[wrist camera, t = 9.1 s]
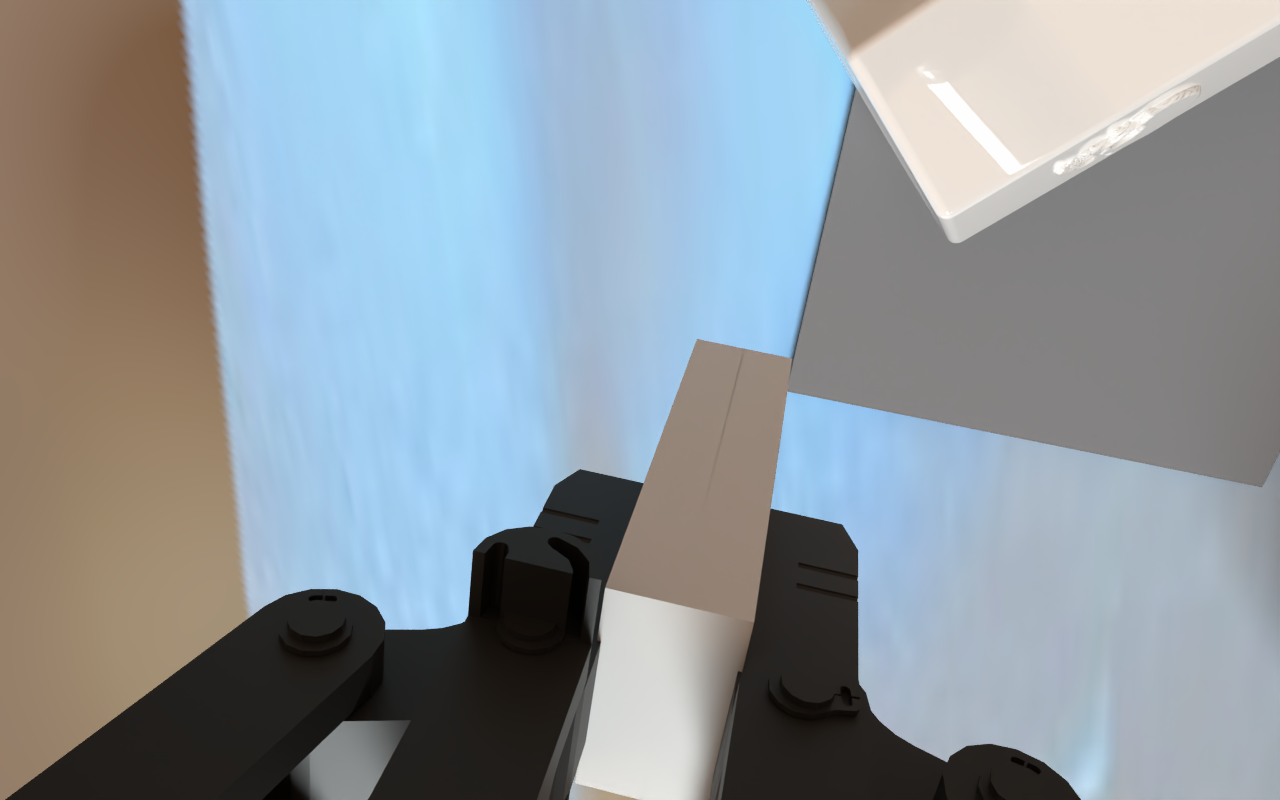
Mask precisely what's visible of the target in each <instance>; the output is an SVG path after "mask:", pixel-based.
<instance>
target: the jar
mask: <svg viewBox="0 0 1280 800" xmlns="http://www.w3.org/2000/svg"><path fill="white" fill-rule="evenodd" d="M806 1H807V3H808V5H809V7H810V8H811V10H812V12H813V14H814V16H815V18H816V20H817V21H818V23H819V25H820V27H821V29H822V30H823V32H824V34H825V35H826V37H827V39H828V41H829V42H830V44H831V46H832V47H833V49H834V51H835V53H836V54H837V56H838V58H839V59H840V61H841V63H842V65H843V66H844V68H845V70H846V71H847V73H848V75H849V76H850V78H851V80H852V82H853V83H854V85H855V87H856V88H857V90H858V92H859V94H860V95H861V97H862V99H863V100H864V102H865V104H866V105H867V107H868V109H869V111H870V112H871V114H872V116H873V117H874V119H875V121H876V123H877V124H878V126H879V128H880V129H881V131H882V133H883V135H884V136H885V138H886V140H887V141H888V143H889V145H890V146H891V148H892V150H893V151H894V153H895V155H896V156H897V158H898V160H899V161H900V163H901V164H902V166H903V168H904V169H905V171H906V173H907V174H908V176H909V177H910V179H911V181H912V182H913V184H914V186H915V187H916V189H917V191H918V192H919V194H920V195H921V197H922V199H923V200H924V202H925V204H926V205H927V207H928V208H929V210H930V212H931V213H932V215H933V217H934V218H935V220H936V222H937V223H938V225H939V226H940V228H941V230H942V231H943V233H944V235H945V236H946V238H947V239H948V240H949V241H950V242H952V243H960V242H963V241H964V240H966V239H968V238H969V237H971V236H973V235H975V234H976V233H978V232H980V231H981V230H983V229H985V228H987V227H988V226H990V225H992V224H993V223H995V222H997V221H999V220H1000V219H1002V218H1004V217H1006V216H1007V215H1009V214H1011V213H1012V212H1014V211H1016V210H1018V209H1019V208H1021V207H1023V206H1024V205H1026V204H1028V203H1030V202H1031V201H1033V200H1035V199H1036V198H1038V197H1040V196H1042V195H1043V194H1045V193H1047V192H1048V191H1050V190H1052V189H1054V188H1055V187H1057V186H1059V185H1060V184H1062V183H1064V182H1066V181H1067V180H1069V179H1071V178H1072V177H1074V176H1076V175H1078V174H1079V173H1081V172H1083V171H1084V170H1086V169H1088V168H1090V167H1091V166H1093V165H1095V164H1097V163H1098V162H1100V161H1102V160H1103V159H1105V158H1107V157H1109V156H1110V155H1112V154H1114V153H1115V152H1117V151H1119V150H1121V149H1122V148H1124V147H1126V146H1127V145H1129V144H1131V143H1133V142H1135V141H1137V140H1139V139H1140V138H1142V137H1144V136H1146V135H1148V134H1149V133H1151V132H1153V131H1155V130H1156V129H1158V128H1160V127H1161V126H1163V125H1164V124H1166V123H1168V122H1169V121H1171V120H1172V119H1174V118H1175V117H1177V116H1179V115H1181V114H1182V113H1184V112H1186V111H1187V110H1189V109H1191V108H1193V107H1194V106H1196V105H1198V104H1200V103H1201V102H1203V101H1205V100H1206V99H1208V98H1210V97H1212V96H1213V95H1215V94H1217V93H1218V92H1220V91H1222V90H1224V89H1225V88H1227V87H1229V86H1230V85H1232V84H1234V83H1236V82H1237V81H1239V80H1241V79H1243V78H1244V77H1246V76H1248V75H1249V74H1251V73H1253V72H1255V71H1256V70H1258V69H1260V68H1261V67H1263V66H1265V65H1267V64H1268V63H1270V62H1272V61H1273V60H1275V59H1277V58H1279V57H1280V0H806Z"/></svg>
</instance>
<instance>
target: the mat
mask: <svg viewBox="0 0 1280 800" xmlns="http://www.w3.org/2000/svg"><path fill="white" fill-rule="evenodd" d="M787 391H788V392H793V393H798V394H803V395H808V396H813V397H818V398H823V399H828V400H833V401H838V402H842V403H847V404H852V405H857V406H862V407H867V408H872V409H877V410H882V411H887V412H892V413H897V414H902V415H907V416H912V417H917V418H922V419H927V420H932V421H937V422H942V423H947V424H951V425H956V426H961V427H966V428H971V429H976V430H981V431H986V432H991V433H996V434H1001V435H1006V436H1011V437H1016V438H1021V439H1026V440H1031V441H1036V442H1041V443H1046V444H1051V445H1056V446H1060V447H1065V448H1070V449H1075V450H1080V451H1085V452H1090V453H1095V454H1100V455H1105V456H1110V457H1115V458H1120V459H1125V460H1130V461H1135V462H1140V463H1145V464H1150V465H1155V466H1160V467H1164V468H1169V469H1174V470H1179V471H1184V472H1189V473H1194V474H1199V475H1204V476H1209V477H1214V478H1219V479H1224V480H1229V481H1234V482H1239V483H1244V484H1249V485H1254V486H1259V487H1262V486H1263V484H1264V482H1265V480H1266V478H1267V476H1268V474H1269V472H1270V470H1271V468H1272V466H1273V465H1274V463H1275V461H1276V459H1277V457H1278V455H1279V453H1280V57H1279V58H1277V59H1275V60H1273V61H1272V62H1270V63H1268V64H1267V65H1265V66H1263V67H1261V68H1260V69H1258V70H1256V71H1255V72H1253V73H1251V74H1249V75H1248V76H1246V77H1244V78H1243V79H1241V80H1239V81H1237V82H1236V83H1234V84H1232V85H1230V86H1229V87H1227V88H1225V89H1224V90H1222V91H1220V92H1218V93H1217V94H1215V95H1213V96H1212V97H1210V98H1208V99H1206V100H1205V101H1203V102H1201V103H1200V104H1198V105H1196V106H1194V107H1193V108H1191V109H1189V110H1187V111H1186V112H1184V113H1182V114H1181V115H1179V116H1177V117H1175V118H1174V119H1172V120H1171V121H1169V122H1168V123H1166V124H1164V125H1163V126H1161V127H1160V128H1158V129H1156V130H1155V131H1153V132H1151V133H1149V134H1148V135H1146V136H1144V137H1142V138H1140V139H1139V140H1137V141H1135V142H1133V143H1131V144H1129V145H1127V146H1126V147H1124V148H1122V149H1121V150H1119V151H1117V152H1115V153H1114V154H1112V155H1110V156H1109V157H1107V158H1105V159H1103V160H1102V161H1100V162H1098V163H1097V164H1095V165H1093V166H1091V167H1090V168H1088V169H1086V170H1084V171H1083V172H1081V173H1079V174H1078V175H1076V176H1074V177H1072V178H1071V179H1069V180H1067V181H1066V182H1064V183H1062V184H1060V185H1059V186H1057V187H1055V188H1054V189H1052V190H1050V191H1048V192H1047V193H1045V194H1043V195H1042V196H1040V197H1038V198H1036V199H1035V200H1033V201H1031V202H1030V203H1028V204H1026V205H1024V206H1023V207H1021V208H1019V209H1018V210H1016V211H1014V212H1012V213H1011V214H1009V215H1007V216H1006V217H1004V218H1002V219H1000V220H999V221H997V222H995V223H993V224H992V225H990V226H988V227H987V228H985V229H983V230H981V231H980V232H978V233H976V234H975V235H973V236H971V237H969V238H968V239H966V240H964V241H963V242H960V243H952V242H950V241H949V240H948V239H947V238H946V236H945V235H944V233H943V231H942V230H941V228H940V226H939V225H938V223H937V222H936V220H935V218H934V217H933V215H932V213H931V212H930V210H929V208H928V207H927V205H926V204H925V202H924V200H923V199H922V197H921V195H920V194H919V192H918V191H917V189H916V187H915V186H914V184H913V182H912V181H911V179H910V177H909V176H908V174H907V173H906V171H905V169H904V168H903V166H902V164H901V163H900V161H899V160H898V158H897V156H896V155H895V153H894V151H893V150H892V148H891V146H890V145H889V143H888V141H887V140H886V138H885V136H884V135H883V133H882V131H881V129H880V128H879V126H878V124H877V123H876V121H875V119H874V117H873V116H872V114H871V112H870V111H869V109H868V107H867V105H866V104H865V102H864V100H863V99H862V97H861V95H860V94H859V92H858V90H857V88H855V92H854V97H853V101H852V105H851V110H850V114H849V118H848V123H847V127H846V131H845V136H844V140H843V145H842V149H841V153H840V158H839V162H838V166H837V171H836V175H835V179H834V184H833V188H832V193H831V197H830V201H829V206H828V210H827V214H826V219H825V223H824V227H823V232H822V236H821V241H820V245H819V249H818V254H817V258H816V262H815V267H814V271H813V275H812V280H811V284H810V289H809V293H808V297H807V302H806V306H805V310H804V315H803V319H802V323H801V328H800V332H799V337H798V341H797V345H796V350H795V354H794V358H793V363H792V367H791V372H790V376H789V383H788V390H787Z"/></svg>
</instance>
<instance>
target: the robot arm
mask: <svg viewBox="0 0 1280 800" xmlns="http://www.w3.org/2000/svg"><path fill="white" fill-rule="evenodd" d="M791 362H792V358H787V357H782V356H777V355H772V354H767V353H762V352H758V351H753V350H748V349H743V348H738V347H733V346H728V345H723V344H718V343H714V342H709V341H704V340H699V339H697V341H696V344H695V346H694V349H693V352H692V354H691V357H690V360H689V362H688V365H687V368H686V371H685V373H684V376H683V379H682V381H681V384H680V387H679V390H678V392H677V395H676V398H675V400H674V403H673V406H672V408H671V411H670V414H669V417H668V419H667V422H666V425H665V427H664V430H663V433H662V435H661V438H660V441H659V444H658V446H657V449H656V452H655V454H654V457H653V460H652V462H651V465H650V468H649V471H648V473H647V476H646V479H645V481H644V483H640V482H635V481H631V480H626V479H622V478H617V477H613V476H608V475H603V474H599V473H594V472H590V471H585V470H581V469H580V470H578V471H577V472H575V473H573V474H572V475H570V476H569V477H567V478H566V479H564V480H562V481H561V482H559V483H558V484H556V485H555V486H554V488H553V490H552V492H551V494H550V496H549V498H548V499H547V501H546V503H545V505H544V507H543V511H542V512H541V513H540V515H539V517H538V519H537V521H536V522H535V524H534V527H523V528H515V529H506V530H504V531H501V532H499V533H496V534H494V535H492V536H489V537H487V538H485V539H484V540H483V541H482V542H481V543H480V544H479V545H478V546H477V547H476V548H475V549H474V550H473V559H472V572H471V585H470V598H469V611H468V617H467V619H466V620H465V622H463V623H461V624H457V625H453V626H449V627H445V628H438V629H426V630H385V621H384V619H383V617H382V616H381V614H380V612H379V610H378V608H377V607H376V606H374V605H373V604H372V603H370V602H369V601H367V600H366V599H364V598H363V597H361V596H359V595H356V594H352V593H348V592H345V591H341V590H337V589H310V590H306V591H301V592H297V593H293V594H288V595H285V596H283V597H281V598H279V599H278V600H276V601H274V602H272V603H270V604H268V605H266V606H264V607H263V608H262V609H260V610H259V611H258V612H256V613H255V614H254V615H252V616H251V617H250V618H248V619H247V620H246V621H244V622H243V623H242V624H240V625H239V626H238V627H236V628H235V629H234V630H232V631H231V632H230V633H228V634H227V635H226V636H224V637H223V638H222V639H220V640H219V641H217V642H216V643H215V644H213V645H212V646H211V647H210V648H208V649H207V650H205V651H204V652H203V653H201V654H200V655H199V656H197V657H196V658H195V659H193V660H192V661H191V662H189V663H188V664H187V665H186V666H184V667H183V668H181V669H180V670H179V671H177V672H176V673H175V674H173V675H172V676H171V677H169V678H168V679H167V680H165V681H164V682H163V683H161V684H160V685H158V686H157V687H156V688H154V689H153V690H152V691H150V692H149V693H148V694H146V695H145V696H144V697H143V698H141V699H140V700H138V701H137V702H136V703H134V704H133V705H132V706H130V707H129V708H128V709H126V710H125V711H124V712H122V713H121V714H120V715H118V716H117V717H116V718H114V719H113V720H111V721H110V722H109V723H107V724H106V725H105V726H104V727H102V728H101V729H99V730H98V731H97V732H95V733H94V734H93V735H92V736H90V737H89V738H87V739H86V740H85V741H83V742H82V743H81V744H79V745H78V746H77V747H75V748H74V749H73V750H71V751H70V752H69V753H67V754H66V755H65V756H63V757H62V758H61V759H59V760H58V761H56V762H55V763H54V764H52V765H51V766H50V767H48V768H47V769H46V770H44V771H43V772H42V773H40V774H39V775H38V776H37V777H35V778H34V779H32V780H31V781H30V782H28V783H27V784H26V785H24V786H23V787H22V788H20V789H19V790H18V791H16V792H15V793H14V794H12V795H11V796H10V797H8V798H7V799H6V800H569V794H570V789H571V786H572V783H573V780H574V777H575V774H576V770H577V776H576V782H575V783H577V784H581V785H585V786H589V787H592V788H596V789H600V790H604V791H608V792H612V793H616V794H620V795H624V796H628V797H632V798H635V799H639V800H1081V799H1080V798H1079V797H1078V795H1077V794H1076V793H1075V791H1074V790H1073V788H1072V787H1071V786H1070V784H1069V783H1068V782H1067V781H1066V780H1065V779H1064V778H1062V777H1061V776H1060V775H1059V774H1057V773H1056V772H1055V771H1054V770H1052V769H1051V768H1050V767H1049V766H1047V765H1046V764H1045V763H1044V762H1042V761H1040V760H1037V759H1035V758H1033V757H1031V756H1029V755H1027V754H1025V753H1023V752H1021V751H1019V750H1017V749H1012V748H1007V747H1002V746H998V745H993V744H983V745H973V746H966V747H965V748H963V749H961V750H960V751H958V752H956V753H955V754H953V755H951V756H950V758H949V760H948V762H945V761H943V760H941V759H939V758H937V757H935V756H933V755H931V754H929V753H927V752H925V751H923V750H921V749H919V748H917V747H915V746H913V745H912V744H910V743H908V742H907V741H905V740H903V739H902V738H900V737H898V736H897V735H895V734H894V733H893V732H892V731H890V730H889V729H888V728H887V727H886V726H884V725H883V724H882V723H881V722H880V721H879V720H878V719H877V718H876V716H875V715H874V714H873V713H872V712H871V710H870V706H869V702H868V699H867V695H866V692H865V691H864V690H863V689H862V687H861V686H860V685H859V681H858V602H857V599H858V581H857V578H858V550H857V548H856V546H855V545H854V543H853V541H852V540H851V538H850V537H849V535H848V533H847V532H846V530H845V528H844V527H843V525H842V524H837V523H833V522H828V521H824V520H819V519H815V518H810V517H806V516H801V515H797V514H792V513H788V512H783V511H779V510H774V509H770V508H771V501H772V495H773V488H774V481H775V474H776V467H777V460H778V453H779V446H780V439H781V432H782V425H783V418H784V411H785V404H786V397H787V390H788V383H789V376H790V369H791ZM577 767H578V769H577Z"/></svg>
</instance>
